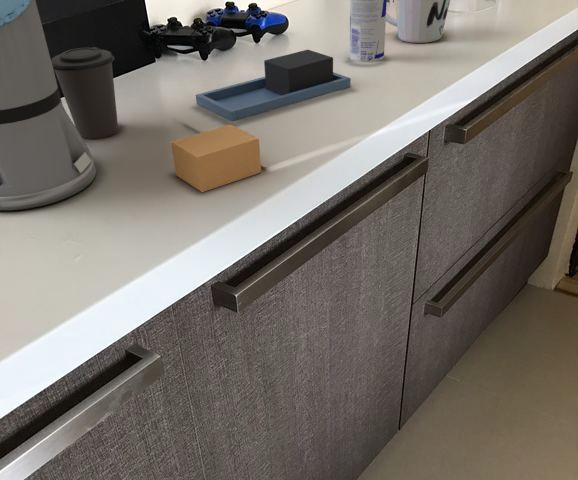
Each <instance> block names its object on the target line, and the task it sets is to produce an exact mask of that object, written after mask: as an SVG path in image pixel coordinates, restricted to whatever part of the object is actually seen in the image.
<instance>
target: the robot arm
mask: <svg viewBox="0 0 578 480" xmlns="http://www.w3.org/2000/svg"><path fill="white" fill-rule="evenodd" d="M51 59H52V58H51V55H50V52H49V47H48V44H47V40H46V35H45V32H44V28H43V25H42V20H41V16H40V13H39V8H38V4H37V0H0V211H18V210H27V209H33V208H39V207H43V206H47V205H51V204H54V203H57V202H59V201H62V200H64V199H67V198H70V197H72V196H74V195H76V194H77V193H79V192H80V191H83V190H84V189H85V188H87V186H89V185H90V184H91V183H92V181H93V180H94V178H95V177H96V173H97V170H96V165H95V162H94V157H93V155H92V153H91V151H90V149H89V147H88V145H87V144H86V142H85V140H84V138H82V137H81V136H80V134H79V132H78V131H77V129H76V127H75V124H74V121H73V120H72V118H71V116H70V115H69V114H68V113H67V111H66V109H65V107H64V105H63V101H62V97H61V94H60V90H59V86H58V83H57V77H56V73H55V70H54V69H53V66H52V62H51Z"/></svg>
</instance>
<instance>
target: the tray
mask: <svg viewBox="0 0 578 480" xmlns="http://www.w3.org/2000/svg"><path fill="white" fill-rule="evenodd" d="M351 80H352V79H351V77H349V76H346V75H342V74H340V73H336V72H334V71H333V81H331V82H328V83H324V84H321V85H317V86H314V87H310V88H307V89H303V90H299V91H296V92H292V93H289V94H285V95H282V96H281V95H279V94H276V93H274V92H272V91H269V90H267V89H266V82H265V76H262V77H259V78H253V79H251V80H250V79H249V80H247V81H243V82H240V83H235V84H232V85H228V86H224V87H220V88H217V89H213V90H209V91H205V92H202V93H197V94H195V101H196V105H198V106H200V107H202V108H204V109H206V110H208V111H210V112H212V113H215V114H216V115H218V116H221V117H222V118H224V119H227V120H228V121H230V122H236V121H239V120H243V119H247V118H249V117H253V116H257V115H259V114H263V113H266V112H269V111H273V110H276V109H280V108H284V107H287V106H290V105H294V104H297V103H301V102H304V101H307V100H312V99H314V98H317V97H321V96H324V95H328V94H331V93H335V92H338V91H342V90H345V89H348V88H351V85H352V84H351Z"/></svg>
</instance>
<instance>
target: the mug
mask: <svg viewBox="0 0 578 480" xmlns="http://www.w3.org/2000/svg"><path fill="white" fill-rule="evenodd" d="M394 1H395V14H396V15H395V16H396V18H395V17H392V16H391V15H390V14H388V13H387V12H386V23H388V24H389V25H392V26H393V27H396V29H397V36H398V39H399V40H401V41H402V42H406V43H411V44H412V43H413V44H426V43H432V42H436V41H438V40H440V39H441V38H442V36H443V33H444V29H445V24H446V20H447V17H448V11H449V7H450V2H451V0H394Z"/></svg>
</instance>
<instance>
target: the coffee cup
mask: <svg viewBox="0 0 578 480" xmlns="http://www.w3.org/2000/svg"><path fill="white" fill-rule="evenodd" d="M50 59H51V62H52V66H53V70H54V74H55V76H56V79H57V81H58V84H59V86H60V89H61V91H62V94H63V97H64V100H65V102H66V105H67V107H68V110H69V113H70V117H71V120H72V122H73V124H74V126H75V127H76V129H77V131H78V132H79V134H80V136H81V137H82V139H88V140H89V139H90V140H95V139H104V138H107V137H111V136H113V135H114V134H117V133H118V131H119V125H118V124H119V121H118V112H117V103H116V93H115V83H114V73H113V62H114V61H115V56H114V55H113V54H112V52H111V51H110V50H107V49H101V48H99V47H97V46H92V47H79V48H72V49H69V50H66V51H63V52H61V53H60V54H57V55H55V56H54V57H52V58H50Z"/></svg>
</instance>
